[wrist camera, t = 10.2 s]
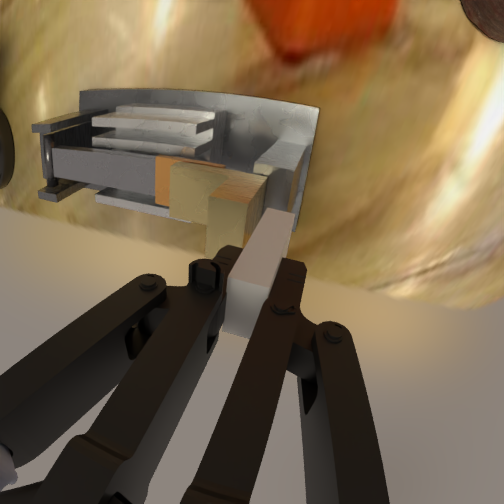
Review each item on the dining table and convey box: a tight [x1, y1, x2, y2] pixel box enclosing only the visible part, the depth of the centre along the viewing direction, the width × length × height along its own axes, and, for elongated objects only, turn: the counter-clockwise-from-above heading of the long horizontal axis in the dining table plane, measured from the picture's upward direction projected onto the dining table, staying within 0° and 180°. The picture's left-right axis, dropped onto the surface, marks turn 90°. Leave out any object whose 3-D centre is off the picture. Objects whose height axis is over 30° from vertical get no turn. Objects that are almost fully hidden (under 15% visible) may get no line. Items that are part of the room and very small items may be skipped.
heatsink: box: [32, 88, 320, 232], centre depth 26 cm, size 26×12×10 cm, turn 83°
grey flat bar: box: [43, 133, 243, 206], centre depth 22 cm, size 20×5×2 cm, turn 83°
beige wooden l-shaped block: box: [169, 161, 267, 259], centre depth 18 cm, size 6×4×5 cm, turn 83°
